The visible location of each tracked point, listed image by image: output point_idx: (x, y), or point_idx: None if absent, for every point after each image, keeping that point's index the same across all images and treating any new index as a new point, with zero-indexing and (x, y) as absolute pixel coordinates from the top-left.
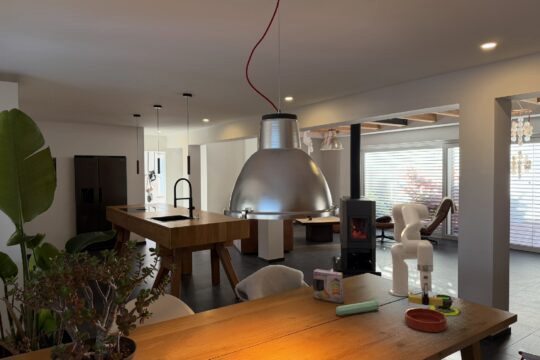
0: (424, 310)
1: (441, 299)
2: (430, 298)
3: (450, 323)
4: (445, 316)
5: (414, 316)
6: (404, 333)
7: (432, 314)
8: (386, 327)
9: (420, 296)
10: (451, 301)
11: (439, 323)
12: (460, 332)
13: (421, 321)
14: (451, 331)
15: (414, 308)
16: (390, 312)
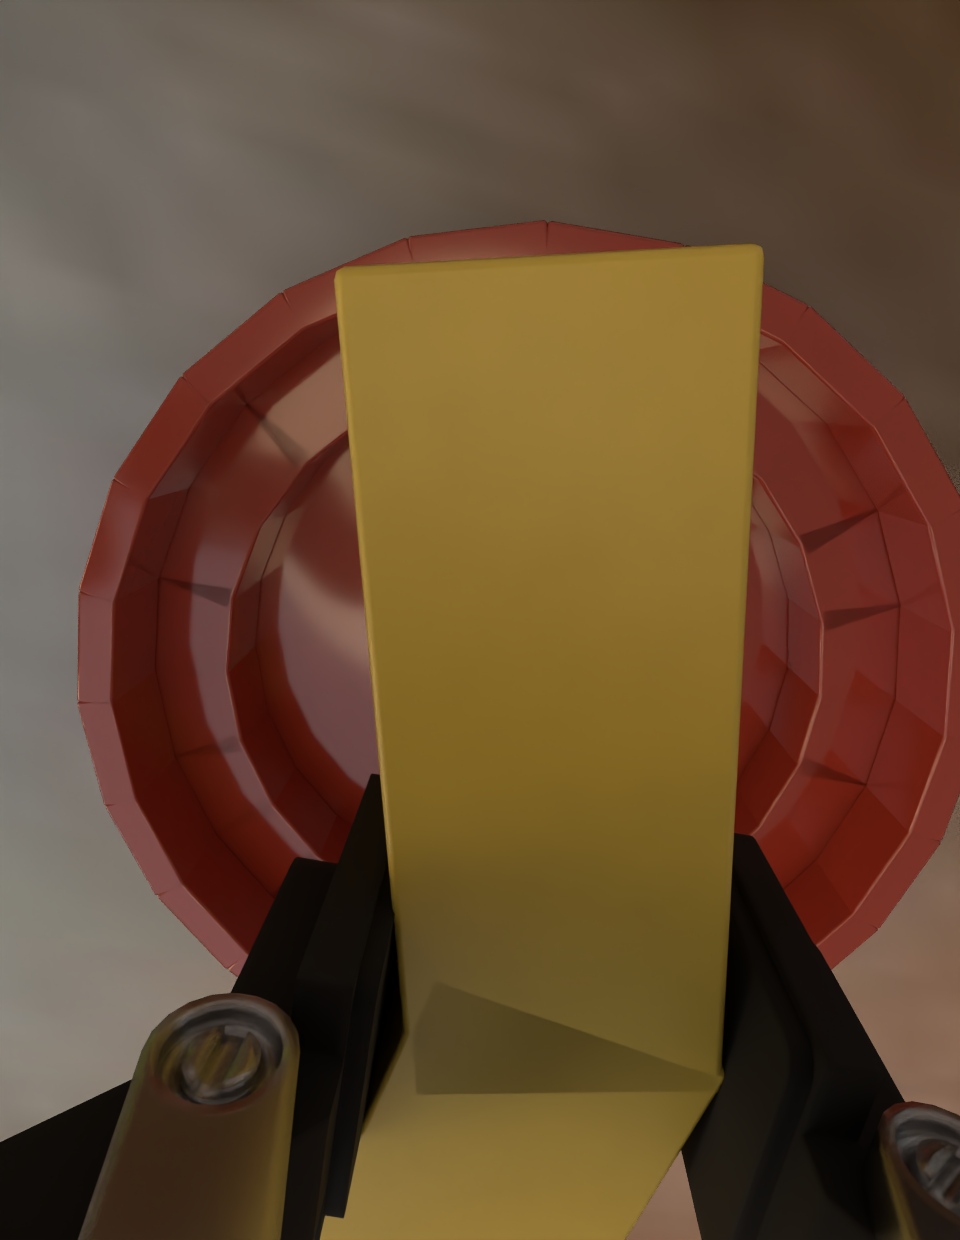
0: (132, 636)
1: (756, 316)
2: (629, 871)
3: (376, 122)
4: (561, 242)
5: (305, 807)
6: (889, 1013)
7: (213, 470)
8: (686, 1186)
9: (390, 1192)
10: None
11: (955, 510)
12: (840, 37)
13: (906, 876)
14: (795, 229)
15: (154, 856)
16: (86, 1061)
